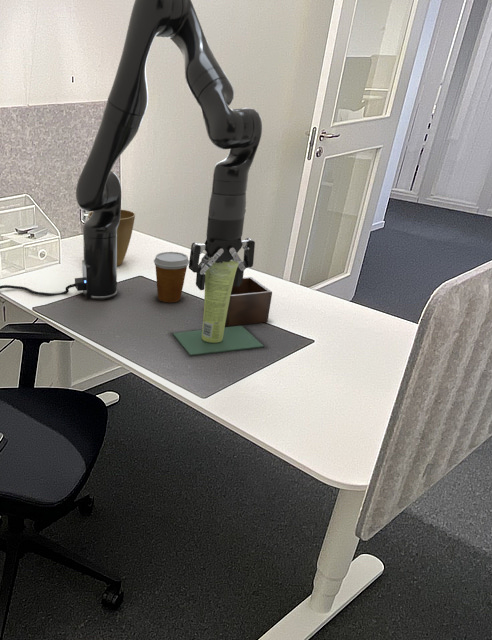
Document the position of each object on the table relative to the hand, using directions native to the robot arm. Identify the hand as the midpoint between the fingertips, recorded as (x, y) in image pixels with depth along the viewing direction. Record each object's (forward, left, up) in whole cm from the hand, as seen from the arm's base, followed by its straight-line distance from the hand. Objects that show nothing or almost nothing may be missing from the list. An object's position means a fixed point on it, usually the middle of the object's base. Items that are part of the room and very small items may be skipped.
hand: (218, 287), depth 129 cm
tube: (0, 0, -13) cm, 13 cm away
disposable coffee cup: (-1, +29, -14) cm, 32 cm away
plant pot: (-9, +64, -14) cm, 66 cm away
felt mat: (+1, 0, -13) cm, 13 cm away
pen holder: (+12, +13, -13) cm, 22 cm away
